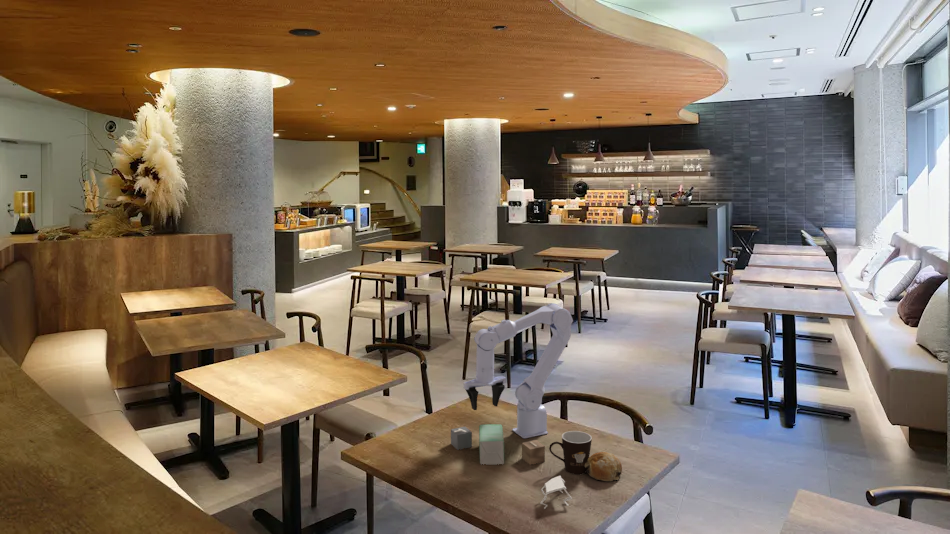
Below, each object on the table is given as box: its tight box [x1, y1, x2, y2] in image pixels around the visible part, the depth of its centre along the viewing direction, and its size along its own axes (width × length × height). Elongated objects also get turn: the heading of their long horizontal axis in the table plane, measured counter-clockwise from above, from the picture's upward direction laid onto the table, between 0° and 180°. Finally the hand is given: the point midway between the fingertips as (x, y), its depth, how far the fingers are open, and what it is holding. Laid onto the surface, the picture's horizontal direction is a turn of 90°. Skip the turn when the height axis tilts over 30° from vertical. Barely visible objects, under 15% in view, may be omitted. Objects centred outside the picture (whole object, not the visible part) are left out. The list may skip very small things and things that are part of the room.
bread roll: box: [585, 451, 623, 482], centre depth 179 cm, size 10×10×8 cm
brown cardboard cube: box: [521, 439, 546, 466], centre depth 188 cm, size 5×5×5 cm
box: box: [478, 423, 505, 466], centre depth 192 cm, size 7×14×8 cm, turn 0°
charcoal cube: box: [450, 426, 473, 451], centre depth 199 cm, size 5×5×5 cm
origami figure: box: [540, 475, 573, 510], centre depth 165 cm, size 12×8×5 cm
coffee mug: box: [548, 430, 593, 476], centre depth 182 cm, size 12×9×10 cm
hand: (484, 407), depth 203 cm, fingers open, 7 cm apart
